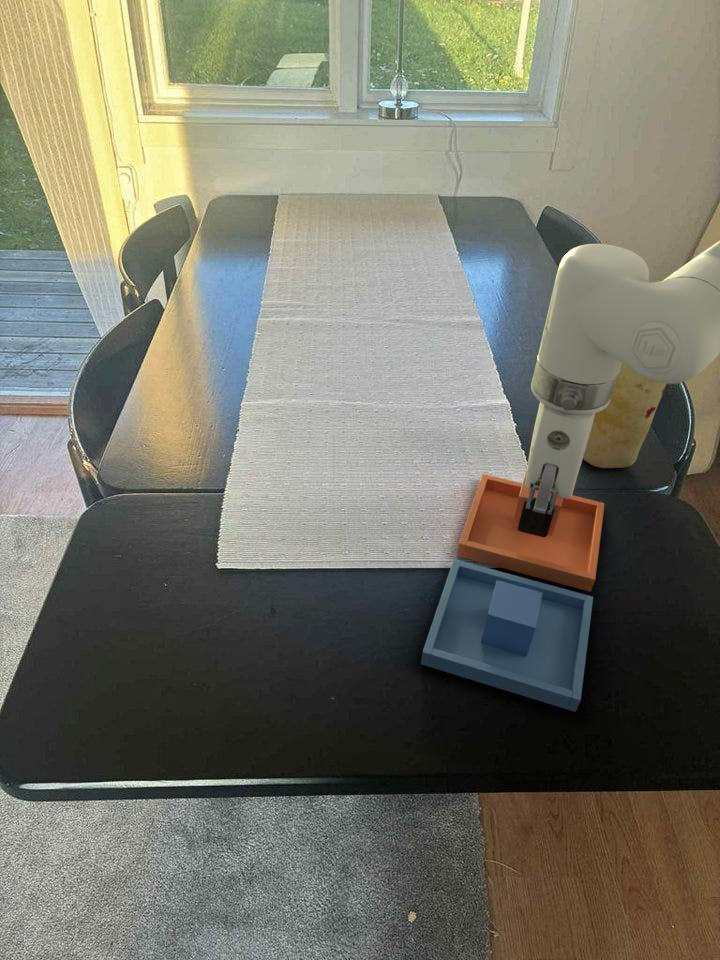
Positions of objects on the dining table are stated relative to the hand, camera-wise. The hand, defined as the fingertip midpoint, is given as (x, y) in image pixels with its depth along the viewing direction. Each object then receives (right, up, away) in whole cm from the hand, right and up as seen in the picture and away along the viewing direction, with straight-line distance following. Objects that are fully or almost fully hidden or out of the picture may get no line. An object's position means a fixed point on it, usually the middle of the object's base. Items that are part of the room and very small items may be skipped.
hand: (536, 515), depth 78 cm
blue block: (-5, -11, -9) cm, 15 cm away
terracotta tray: (0, -2, +2) cm, 3 cm away
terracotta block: (0, 0, 0) cm, 0 cm away
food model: (+11, +7, +14) cm, 19 cm away
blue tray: (-5, -12, -9) cm, 15 cm away
